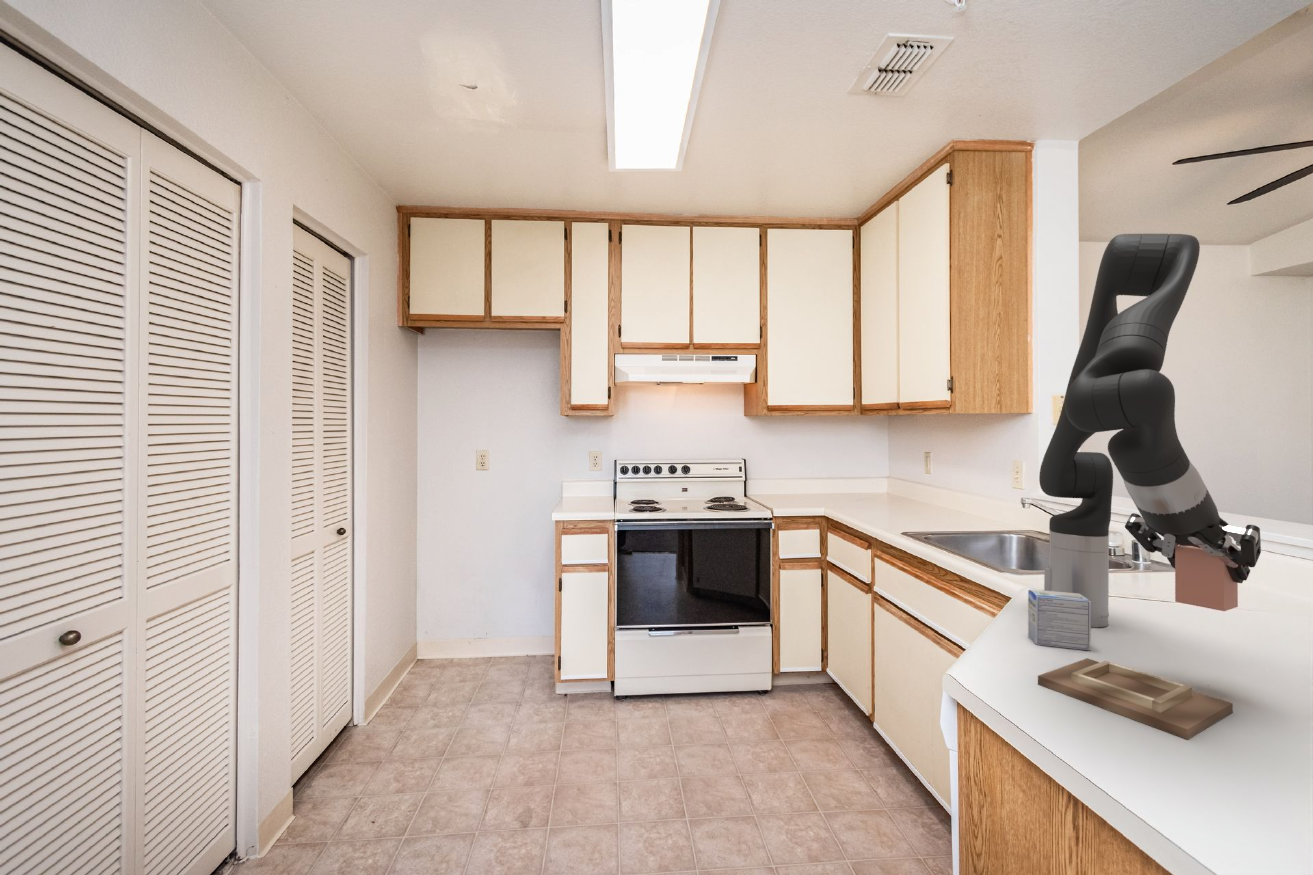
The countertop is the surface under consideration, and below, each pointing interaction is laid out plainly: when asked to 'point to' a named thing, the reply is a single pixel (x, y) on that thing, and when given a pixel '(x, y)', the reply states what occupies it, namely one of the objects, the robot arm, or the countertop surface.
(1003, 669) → the countertop surface
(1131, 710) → the socket plate
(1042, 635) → the medicine box
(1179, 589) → the salmon pink rectangular block
